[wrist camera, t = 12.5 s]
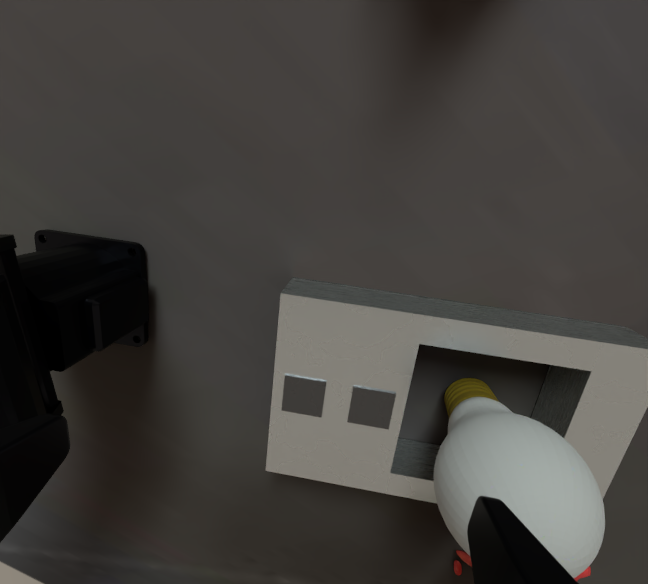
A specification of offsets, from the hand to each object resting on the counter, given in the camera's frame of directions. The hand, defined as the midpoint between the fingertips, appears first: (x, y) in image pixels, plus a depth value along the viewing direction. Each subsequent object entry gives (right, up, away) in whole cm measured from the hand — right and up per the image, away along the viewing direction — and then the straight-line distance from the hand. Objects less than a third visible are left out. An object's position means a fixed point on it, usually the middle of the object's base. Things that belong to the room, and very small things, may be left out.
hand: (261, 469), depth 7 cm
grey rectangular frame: (+8, -2, +13) cm, 16 cm away
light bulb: (+10, -2, +13) cm, 17 cm away
